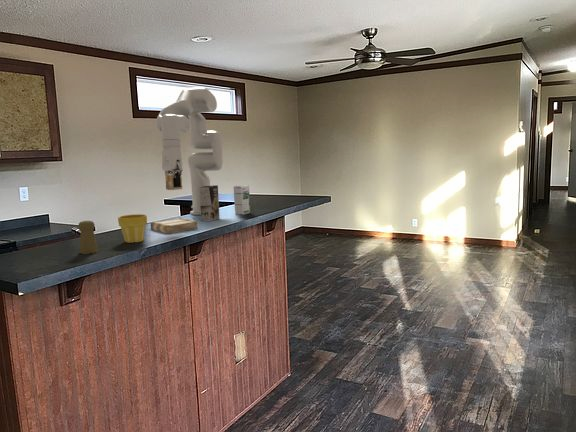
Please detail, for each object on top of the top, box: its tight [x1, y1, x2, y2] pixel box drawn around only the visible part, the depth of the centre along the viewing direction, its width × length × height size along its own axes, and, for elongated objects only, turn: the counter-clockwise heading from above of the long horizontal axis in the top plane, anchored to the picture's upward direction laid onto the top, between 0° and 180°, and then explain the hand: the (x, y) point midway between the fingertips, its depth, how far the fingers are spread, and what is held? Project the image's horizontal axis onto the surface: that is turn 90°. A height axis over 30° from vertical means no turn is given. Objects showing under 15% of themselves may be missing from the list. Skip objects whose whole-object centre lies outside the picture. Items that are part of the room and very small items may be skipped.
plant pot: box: [117, 213, 148, 244], centre depth 183 cm, size 10×10×10 cm
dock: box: [150, 217, 199, 234], centre depth 207 cm, size 16×14×3 cm
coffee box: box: [199, 185, 221, 222], centre depth 228 cm, size 9×6×16 cm
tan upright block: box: [164, 172, 183, 191], centre depth 205 cm, size 5×5×7 cm
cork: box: [77, 220, 99, 255], centre depth 166 cm, size 6×6×11 cm
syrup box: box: [233, 184, 251, 215], centre depth 244 cm, size 6×6×14 cm
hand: (174, 186), depth 206 cm, fingers closed on tan upright block, 5 cm apart
